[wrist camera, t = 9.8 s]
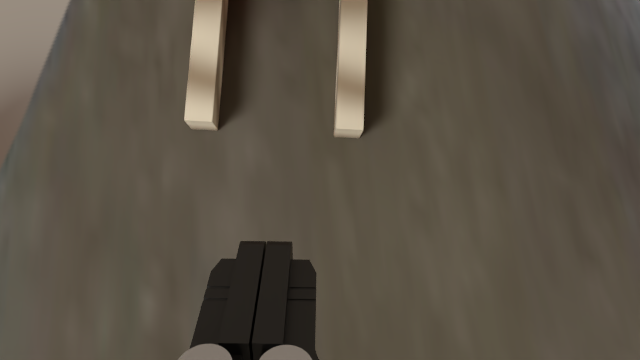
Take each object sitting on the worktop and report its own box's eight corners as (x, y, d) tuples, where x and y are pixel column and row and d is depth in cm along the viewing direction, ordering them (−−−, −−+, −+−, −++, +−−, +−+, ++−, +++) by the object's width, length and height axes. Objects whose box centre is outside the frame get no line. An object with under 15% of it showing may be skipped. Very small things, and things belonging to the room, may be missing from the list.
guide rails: (359, 138, 38) (363, 130, 35) (191, 129, 37) (184, 120, 35) (366, -81, 41) (370, -103, 38) (211, -92, 40) (205, -115, 38)
